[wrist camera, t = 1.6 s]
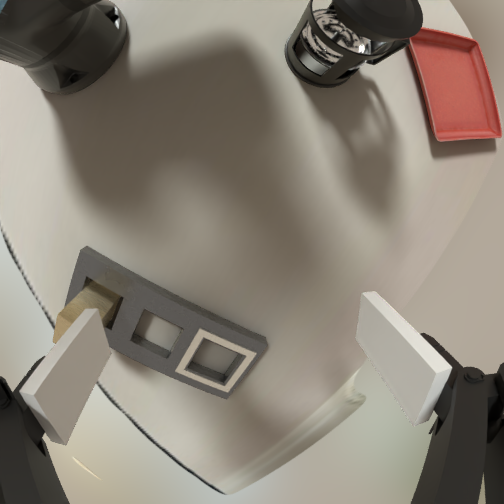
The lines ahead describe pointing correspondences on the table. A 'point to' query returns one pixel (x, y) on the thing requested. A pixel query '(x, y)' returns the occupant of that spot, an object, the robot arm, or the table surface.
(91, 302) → the peg
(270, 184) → the table surface
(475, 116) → the red serving tray
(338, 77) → the french press
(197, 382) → the grey flat slotted block
